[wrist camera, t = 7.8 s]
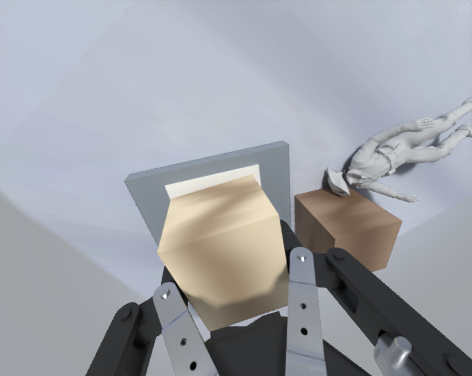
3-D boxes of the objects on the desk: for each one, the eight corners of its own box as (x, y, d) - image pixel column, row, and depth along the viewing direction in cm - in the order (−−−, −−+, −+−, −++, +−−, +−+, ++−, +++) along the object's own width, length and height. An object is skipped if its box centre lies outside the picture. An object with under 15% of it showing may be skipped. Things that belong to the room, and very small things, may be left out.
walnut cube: (342, 183, 18) (402, 220, 13) (337, 222, 20) (385, 267, 15) (294, 195, 18) (335, 239, 12) (294, 234, 20) (329, 284, 15)
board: (282, 140, 15) (290, 145, 13) (286, 240, 20) (292, 249, 19) (129, 174, 14) (123, 182, 12) (176, 269, 19) (175, 281, 18)
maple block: (252, 174, 13) (278, 214, 9) (268, 249, 17) (293, 303, 13) (171, 198, 13) (157, 253, 9) (206, 269, 17) (209, 332, 12)
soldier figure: (482, 168, 16) (371, 242, 15) (417, 153, 20) (327, 210, 19) (521, 71, 12) (371, 165, 11) (429, 76, 16) (314, 145, 15)
